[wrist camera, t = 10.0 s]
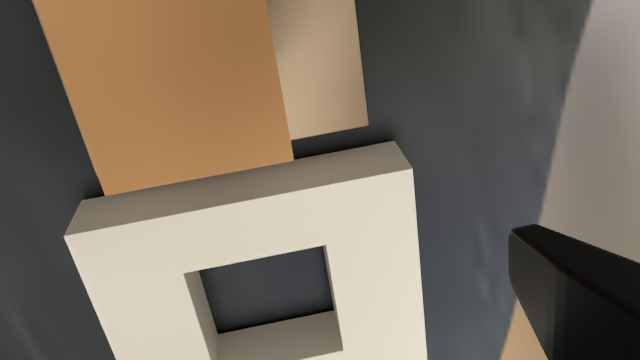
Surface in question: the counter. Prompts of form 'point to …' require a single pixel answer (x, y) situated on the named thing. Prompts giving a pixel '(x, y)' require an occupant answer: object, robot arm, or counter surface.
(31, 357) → the counter surface
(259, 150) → the plug
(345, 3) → the cork pad
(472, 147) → the counter surface
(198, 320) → the block
